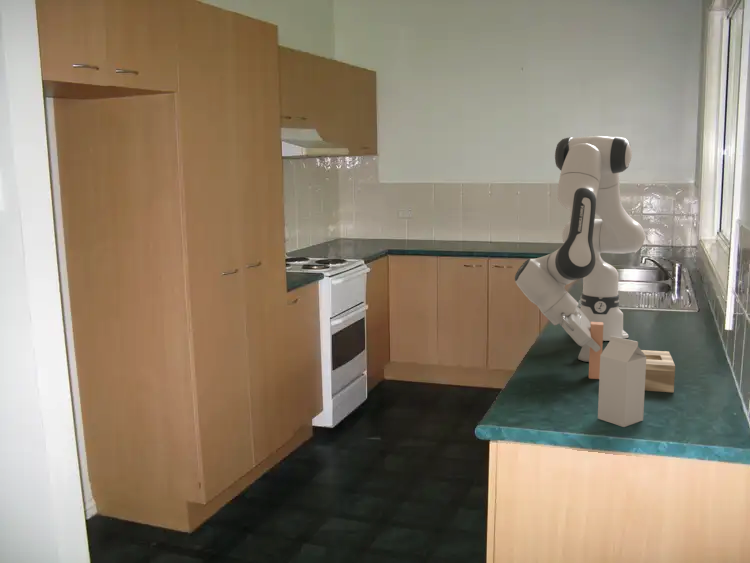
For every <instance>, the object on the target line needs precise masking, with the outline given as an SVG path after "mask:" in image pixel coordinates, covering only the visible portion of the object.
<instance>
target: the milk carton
mask: <svg viewBox="0 0 750 563" xmlns="http://www.w3.org/2000/svg"><path fill="white" fill-rule="evenodd" d="M641 350H642V349H641V348H640V347H639V341H636V340H632V339H628V338H619V337H614V336H610V341H609V342H608V343H607V345H606V346H605V347H604V349H603V350H602V354H601V355H600V376H599V379H598V399H597V401H598V404H597V407H598V408H597V419H598V420H601V421H604V422H608V423H611V424H613V425H616V426H619V427H622V428H625V427H629V426H631V425H635V424H637V423H639V422H642V421H644V414H645V413H644V410H645V394H646V393H645V391H646V390H645V375H646V356H645V355H644V353H643V352H642V351H641Z"/></svg>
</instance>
